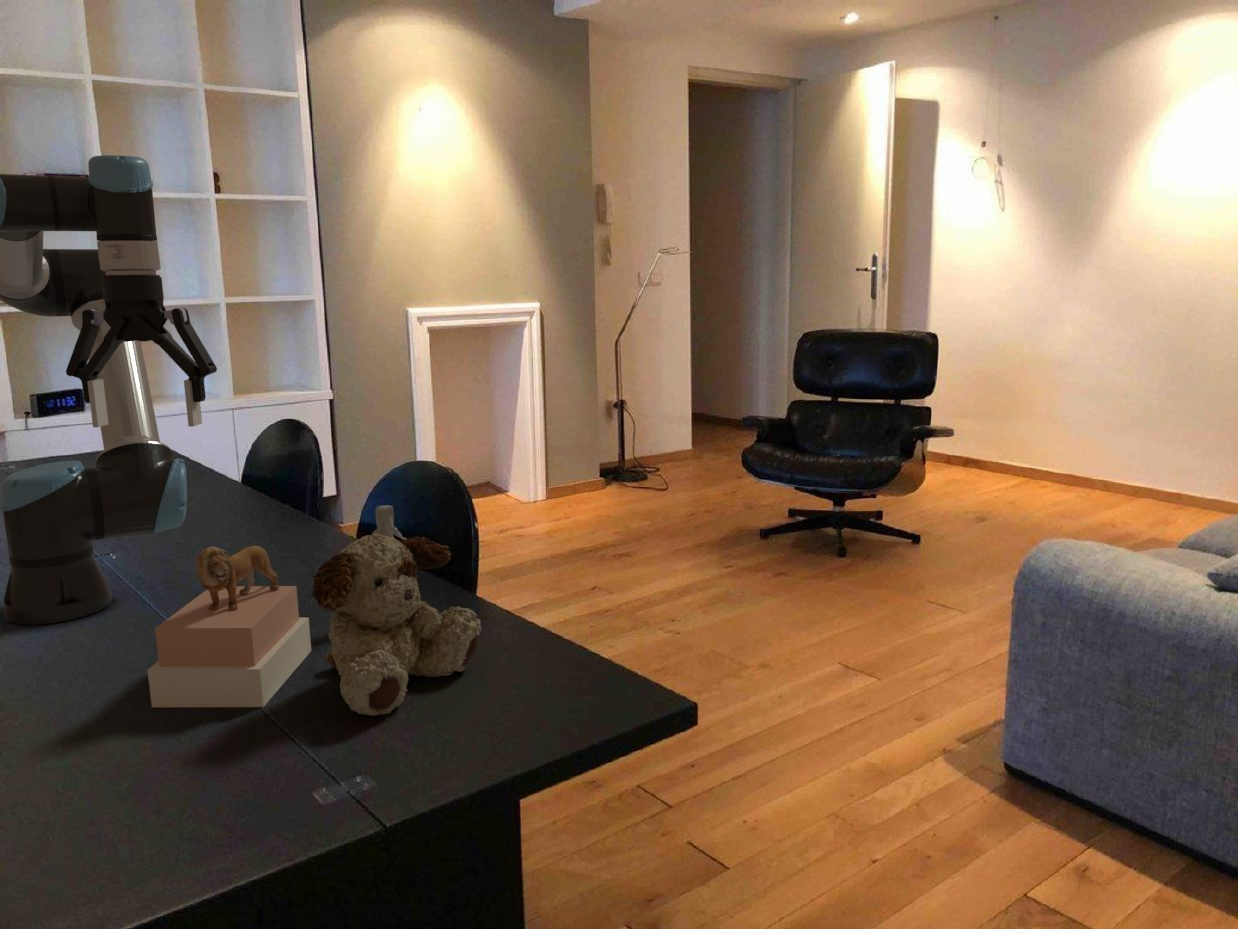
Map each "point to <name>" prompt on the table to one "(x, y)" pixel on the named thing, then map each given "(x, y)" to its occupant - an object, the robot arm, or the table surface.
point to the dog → (389, 620)
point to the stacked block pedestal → (229, 650)
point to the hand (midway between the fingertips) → (148, 425)
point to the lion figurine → (232, 572)
